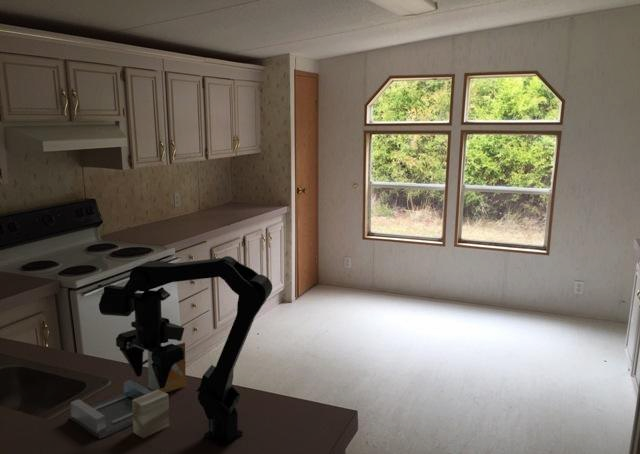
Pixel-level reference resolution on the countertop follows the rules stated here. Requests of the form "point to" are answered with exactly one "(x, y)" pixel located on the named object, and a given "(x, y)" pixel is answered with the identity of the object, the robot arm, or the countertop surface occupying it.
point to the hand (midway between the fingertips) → (150, 381)
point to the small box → (176, 372)
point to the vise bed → (112, 416)
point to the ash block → (150, 413)
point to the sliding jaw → (135, 389)
